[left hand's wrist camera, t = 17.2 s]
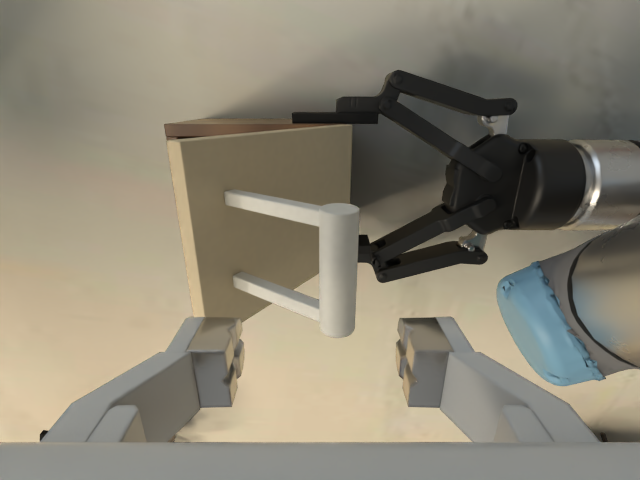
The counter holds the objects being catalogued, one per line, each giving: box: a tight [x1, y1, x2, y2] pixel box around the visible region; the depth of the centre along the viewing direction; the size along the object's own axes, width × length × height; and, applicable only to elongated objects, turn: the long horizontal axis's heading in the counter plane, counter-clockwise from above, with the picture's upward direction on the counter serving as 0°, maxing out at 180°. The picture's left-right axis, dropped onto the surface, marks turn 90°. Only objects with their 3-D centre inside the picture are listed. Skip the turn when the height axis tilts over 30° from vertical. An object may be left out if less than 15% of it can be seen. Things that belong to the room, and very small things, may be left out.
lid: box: [166, 124, 360, 338], centre depth 20 cm, size 14×10×8 cm
